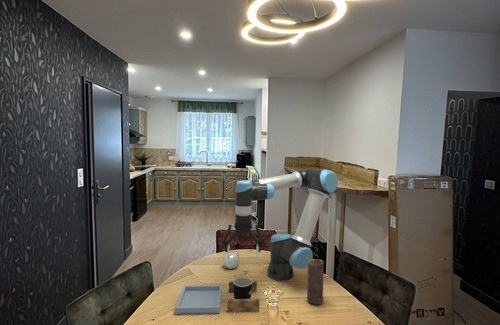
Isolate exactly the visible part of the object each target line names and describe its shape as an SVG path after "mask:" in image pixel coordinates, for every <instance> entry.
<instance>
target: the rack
mask: <svg viewBox="0 0 500 325" xmlns="http://www.w3.org/2000/svg"><path fill="white" fill-rule="evenodd" d="M233 281H234V280H233ZM233 281H232V280H231V281H230V280H229V281H228V293H231V294H232V293H233V294H234V292H233ZM257 284H258V282H257V280H252V293H257V289H258V286H257ZM246 312H247V313H249V312H250V313H251V312H255V313H256V312H260V299H259V298H251V299H234V298H228V299H227V313H246Z"/></svg>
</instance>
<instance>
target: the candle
mask: <svg viewBox="0 0 500 325" xmlns="http://www.w3.org/2000/svg"><path fill="white" fill-rule="evenodd" d="M324 263H325V262H324V261H323V260H322V259H319V258H317V259H315V258H312V259H310V260H309V261H308V266H307V283H306V284H307V286H306V287H307V289H306V291H307V292H306V299H307V300H306V301H308V302H310V303H311V304H313V305H314V304H315V305H318V304H319V305H320V304H323V301H324Z"/></svg>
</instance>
